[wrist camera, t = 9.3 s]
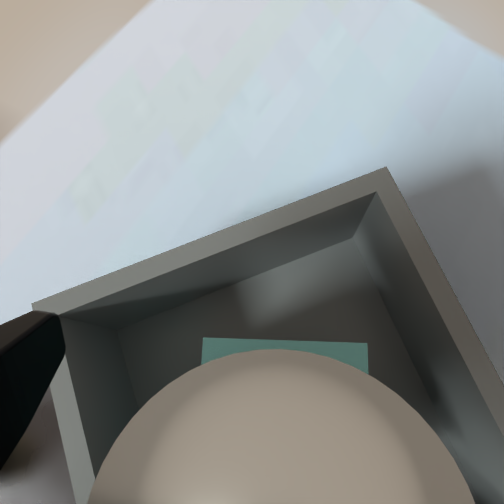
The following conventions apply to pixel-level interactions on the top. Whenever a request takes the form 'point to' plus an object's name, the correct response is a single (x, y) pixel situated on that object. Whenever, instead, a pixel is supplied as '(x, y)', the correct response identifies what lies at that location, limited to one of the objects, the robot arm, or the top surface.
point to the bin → (283, 323)
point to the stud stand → (38, 463)
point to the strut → (279, 434)
